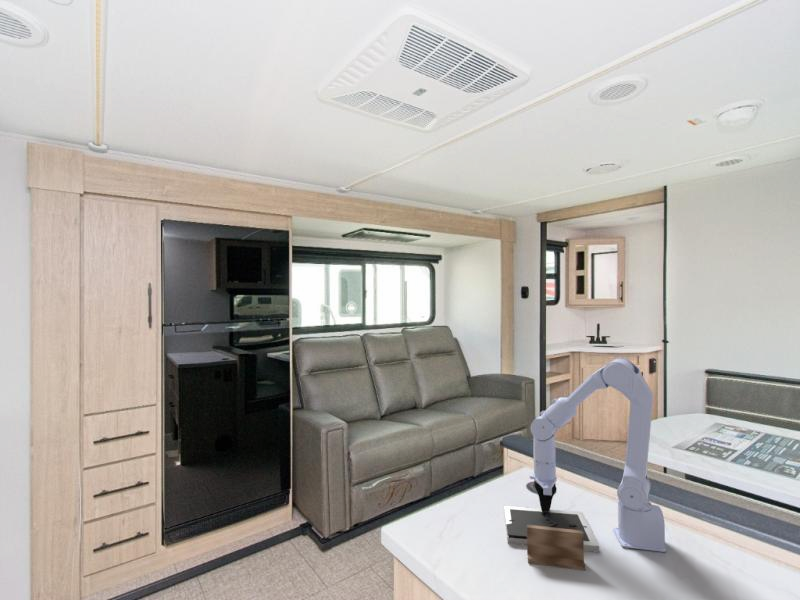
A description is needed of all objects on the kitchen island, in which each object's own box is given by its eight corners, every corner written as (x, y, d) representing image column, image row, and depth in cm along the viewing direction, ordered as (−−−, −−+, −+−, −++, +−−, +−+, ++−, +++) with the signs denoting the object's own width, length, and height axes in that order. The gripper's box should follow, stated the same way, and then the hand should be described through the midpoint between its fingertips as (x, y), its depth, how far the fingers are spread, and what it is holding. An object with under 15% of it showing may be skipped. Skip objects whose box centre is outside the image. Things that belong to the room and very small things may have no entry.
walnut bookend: (582, 561, 92) (582, 530, 92) (585, 570, 89) (585, 538, 89) (527, 554, 95) (526, 524, 95) (528, 562, 92) (527, 531, 92)
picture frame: (507, 546, 100) (599, 554, 96) (507, 534, 100) (598, 542, 96) (504, 513, 115) (582, 519, 111) (503, 503, 115) (582, 509, 111)
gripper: (527, 449, 121) (528, 495, 121) (531, 469, 107) (532, 521, 107) (552, 451, 119) (553, 498, 119) (559, 471, 105) (560, 524, 105)
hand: (545, 509), depth 113 cm, fingers closed
